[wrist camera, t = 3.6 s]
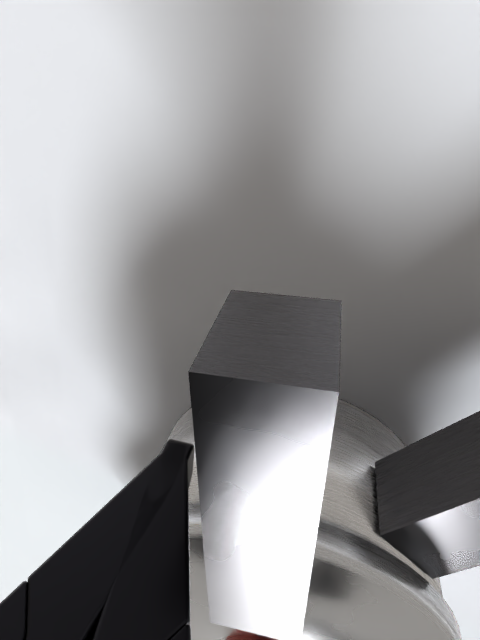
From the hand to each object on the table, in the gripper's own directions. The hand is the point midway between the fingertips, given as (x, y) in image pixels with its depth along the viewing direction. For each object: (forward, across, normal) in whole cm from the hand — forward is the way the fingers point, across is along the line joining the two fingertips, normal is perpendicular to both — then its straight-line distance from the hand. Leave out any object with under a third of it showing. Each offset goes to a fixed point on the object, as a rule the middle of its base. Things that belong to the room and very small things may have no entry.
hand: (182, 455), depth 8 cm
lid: (+1, -2, +5) cm, 6 cm away
